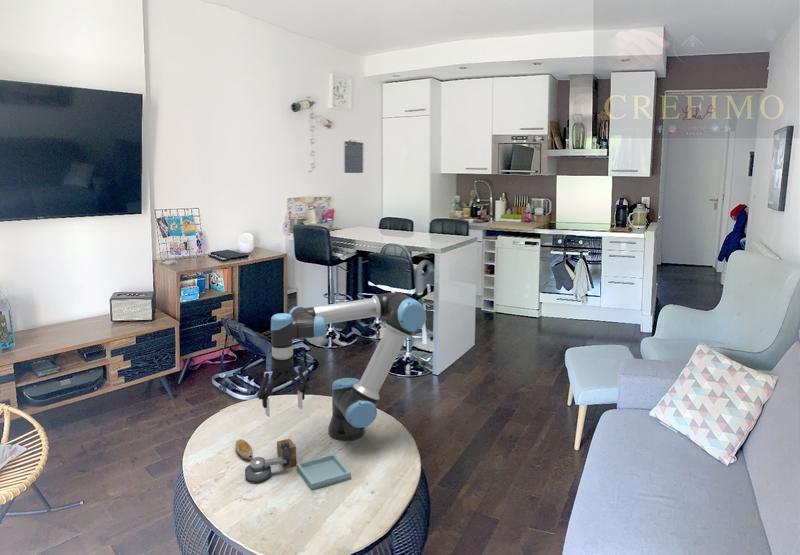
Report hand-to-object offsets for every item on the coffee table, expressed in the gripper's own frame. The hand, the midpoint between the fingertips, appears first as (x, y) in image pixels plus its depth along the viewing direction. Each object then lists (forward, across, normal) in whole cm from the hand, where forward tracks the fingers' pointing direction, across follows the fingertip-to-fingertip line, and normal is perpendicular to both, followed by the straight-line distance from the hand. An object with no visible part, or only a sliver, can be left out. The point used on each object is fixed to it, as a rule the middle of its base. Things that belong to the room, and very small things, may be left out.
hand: (284, 411), depth 208 cm
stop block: (+20, 0, +2) cm, 20 cm away
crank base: (+20, +12, +5) cm, 24 cm away
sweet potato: (+21, +12, -13) cm, 27 cm away
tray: (+20, -9, +15) cm, 27 cm away
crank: (+17, +8, +6) cm, 20 cm away
